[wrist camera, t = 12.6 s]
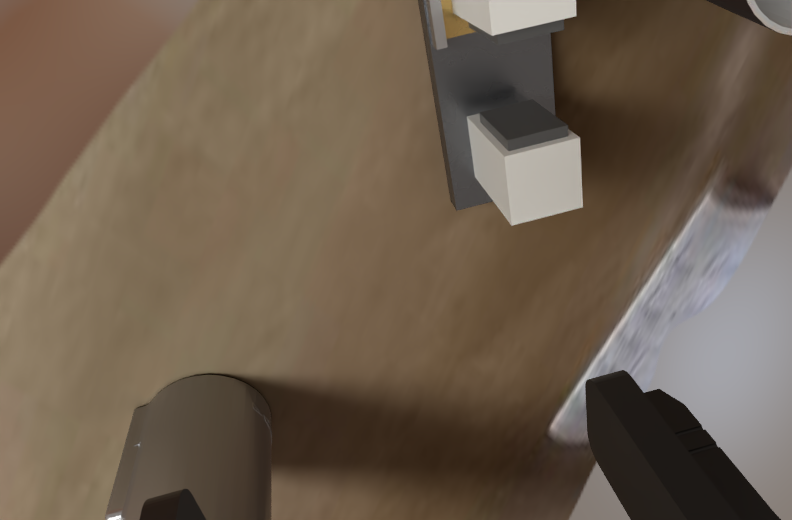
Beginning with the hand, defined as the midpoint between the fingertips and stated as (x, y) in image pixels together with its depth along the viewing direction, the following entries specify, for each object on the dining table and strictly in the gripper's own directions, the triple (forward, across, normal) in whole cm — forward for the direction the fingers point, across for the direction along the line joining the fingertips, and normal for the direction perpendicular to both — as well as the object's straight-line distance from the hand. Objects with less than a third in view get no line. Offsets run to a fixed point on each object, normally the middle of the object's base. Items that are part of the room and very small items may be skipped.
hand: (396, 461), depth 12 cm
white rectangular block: (+27, -11, +5) cm, 29 cm away
